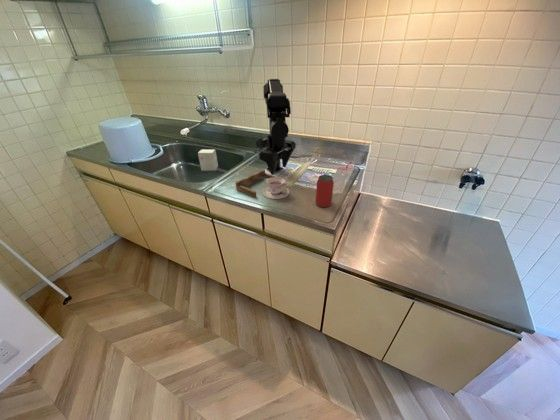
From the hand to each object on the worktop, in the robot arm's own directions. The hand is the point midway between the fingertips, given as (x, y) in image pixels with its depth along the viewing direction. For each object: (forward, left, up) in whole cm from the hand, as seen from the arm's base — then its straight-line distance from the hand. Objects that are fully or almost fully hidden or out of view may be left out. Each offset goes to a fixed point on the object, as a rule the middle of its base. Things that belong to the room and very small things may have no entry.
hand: (278, 170), depth 99 cm
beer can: (-8, +17, -13) cm, 23 cm away
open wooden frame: (-3, -15, -13) cm, 20 cm away
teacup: (-3, -5, -14) cm, 15 cm away
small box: (-1, -51, -13) cm, 53 cm away
